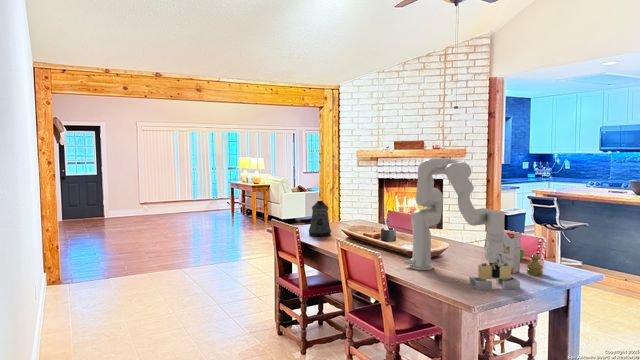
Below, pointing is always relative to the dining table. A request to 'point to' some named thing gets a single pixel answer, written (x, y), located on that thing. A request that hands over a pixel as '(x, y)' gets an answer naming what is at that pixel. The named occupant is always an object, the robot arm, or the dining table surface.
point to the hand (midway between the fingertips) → (494, 276)
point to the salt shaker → (535, 266)
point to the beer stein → (320, 221)
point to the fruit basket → (521, 252)
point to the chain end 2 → (508, 283)
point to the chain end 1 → (480, 283)
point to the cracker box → (512, 250)
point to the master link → (487, 270)
